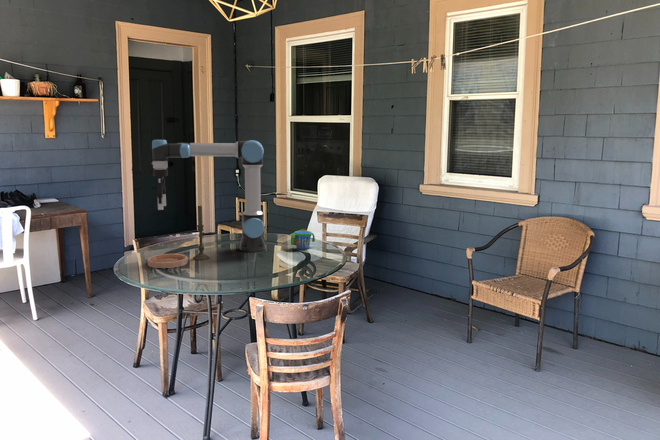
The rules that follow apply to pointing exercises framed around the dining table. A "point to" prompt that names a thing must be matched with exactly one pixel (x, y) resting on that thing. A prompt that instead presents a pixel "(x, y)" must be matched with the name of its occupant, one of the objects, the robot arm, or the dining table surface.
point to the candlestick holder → (200, 237)
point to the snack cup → (302, 239)
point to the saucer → (167, 261)
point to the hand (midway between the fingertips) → (162, 207)
